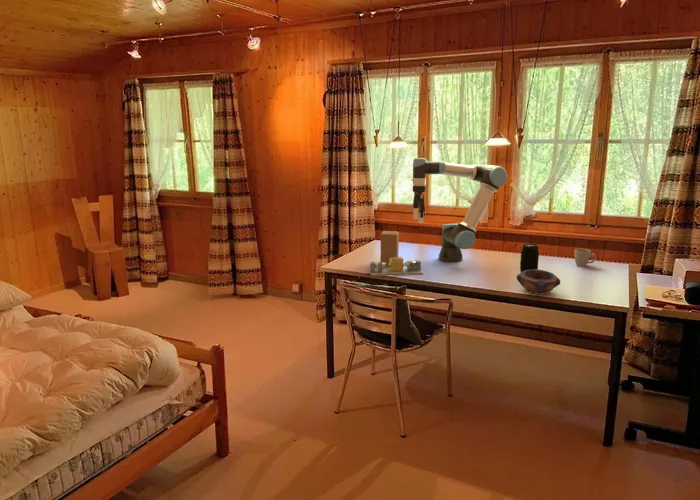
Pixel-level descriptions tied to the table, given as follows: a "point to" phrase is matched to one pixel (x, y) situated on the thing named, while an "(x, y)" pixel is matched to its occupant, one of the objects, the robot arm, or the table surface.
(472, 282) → the table surface
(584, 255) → the mug
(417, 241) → the table surface
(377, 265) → the grey bracket
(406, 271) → the rig
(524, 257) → the portable speaker
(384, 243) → the wooden block
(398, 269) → the coupling
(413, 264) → the grey metal block
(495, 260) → the table surface
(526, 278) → the bowl
